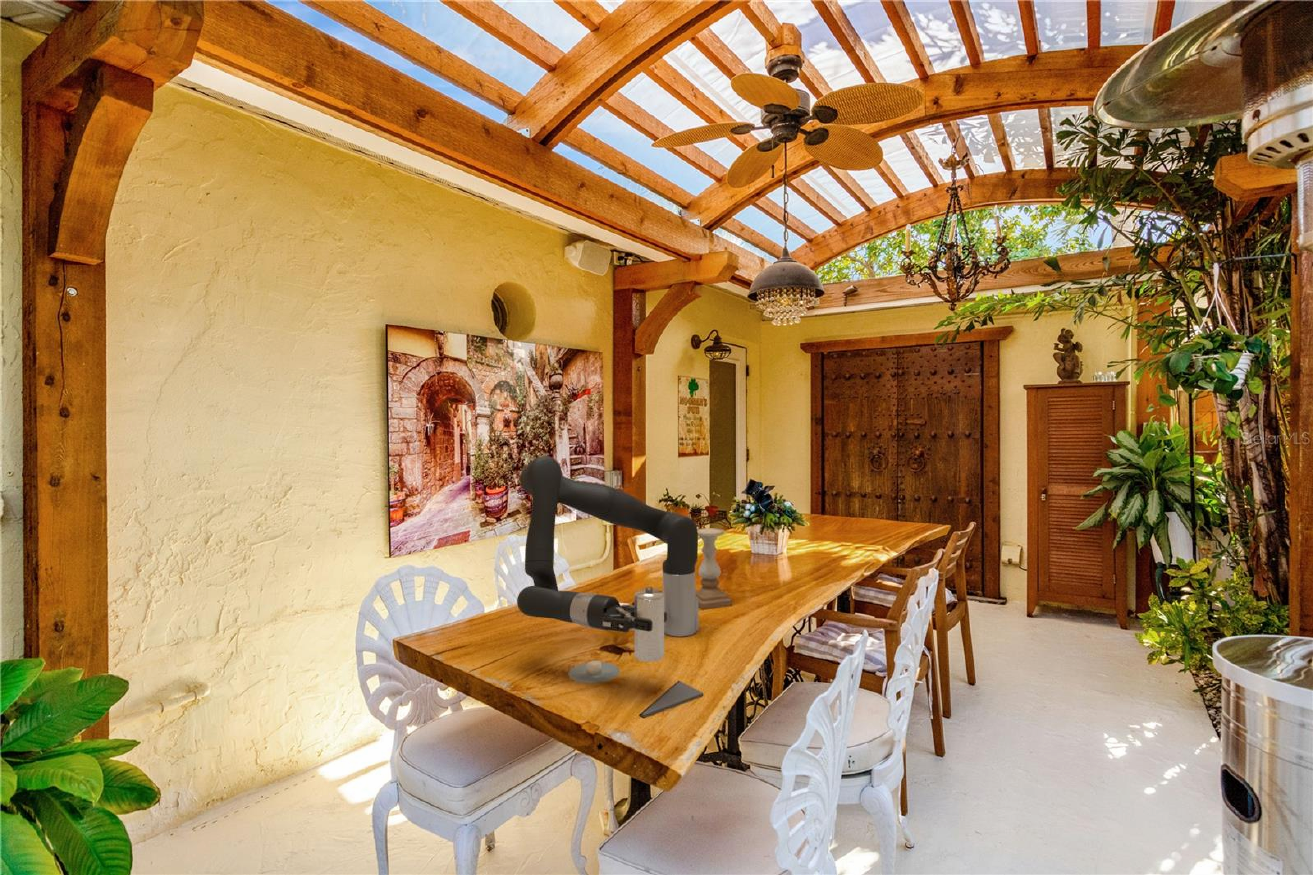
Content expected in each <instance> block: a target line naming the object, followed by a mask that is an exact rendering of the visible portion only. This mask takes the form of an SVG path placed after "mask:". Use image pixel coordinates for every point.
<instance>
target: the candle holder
mask: <svg viewBox="0 0 1313 875" xmlns="http://www.w3.org/2000/svg"><path fill="white" fill-rule="evenodd" d="M697 531H698V537H700V538H701V540H702V542H703V546H702V548H701V550H700V551H701V552H702V555H703V560H702V562H701V564H700V565H699V568H698V575H699V576H700V577H701V580H700V585H701V587H700V588H699V589H695V593H696V597H698V607H699V609H700V610H709V609H718V608H723V607H724V608H725V607H731V606H732V605H733V600H732V599H731V598H730V595H729V594H728V593H726V592H725V591H724V590H722V589H721V588H719V584H720V580H719V579H718V578H719V576H721V572H722V571H721V570H722V569H721V567H720V565H719V563H718V562H717V560H716V558H715V555H716V552H717V551H718V548H717V547H716V546H715V545H716V544H715V542H716V540H717V539H718V537H720V536H724V535H725V530H724V529H721V528H712V527H711V528H710V527H709V528H707V527H706V528H705V527H704V528H697ZM717 553H718V552H717Z"/></svg>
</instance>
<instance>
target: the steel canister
mask: <svg viewBox="0 0 1313 875" xmlns="http://www.w3.org/2000/svg"><path fill="white" fill-rule="evenodd" d="M633 602H634V614H635V618H636V619H637V618H640V619H646V620H651V621H652V623H653V629H652V630H651V631H650V632H649V631H643V630H638V629H636V630H634V657H635V658H636V660H638V661H641V662H646V663H650V662H651V663H652V662H658V661H660V660H662V659H663V658H664V657H665V633H664V596H663V590H660V589H655V588H654V587H651V586H647V587H645V588H644V589H638V590H637V591H635V595H634V601H633Z"/></svg>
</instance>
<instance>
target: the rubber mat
mask: <svg viewBox="0 0 1313 875" xmlns="http://www.w3.org/2000/svg"><path fill="white" fill-rule="evenodd" d="M703 696H704V692H702V691H700V690H698V689H697V688H694V687H692V686H690V685H689V684H686V683H684V681H683V682H682V681H681V680H678V681H676V682H675V683H674V684H673V685H671V686H670V687H669V689H667V690H666V691H665V692H664V693H662V694H661V695H660V696H659V697H658V698H656V700H654V701H653V702H652V703H651V704H650V705H649V706H647V707H646V708H645V709H644V710H643V711H642V712H640V713H639V714H638V716H639V717H641V718H642V719H645V718H647V717H650V716H653V715H655V714H659V713H661V712H663V711H664V712H665V711H667V710H668V709H671V708H674V707H676V706H679V705H682V704H685V703H687V702H689V701H693V700H695V699H699V698H701V697H703Z"/></svg>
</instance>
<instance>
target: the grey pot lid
mask: <svg viewBox="0 0 1313 875" xmlns="http://www.w3.org/2000/svg"><path fill="white" fill-rule="evenodd" d="M620 673H621V672H620V668H619V667H618V666H617V665H615V664H613V663H611V662H610V663H609V662H603V661H602V662H601V661H599V660H590V661H588V662H585V663H581V664H578V665H576V666H574V667H572V668H571V669H569V671H568V674H567V675H568V678H570V679H571V680H573V681H575V682H579V683H583V684H597V683H598V684H599V683H603V682H607V681H611V680H612V679H614V678H616V677H617V676H619V674H620Z"/></svg>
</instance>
